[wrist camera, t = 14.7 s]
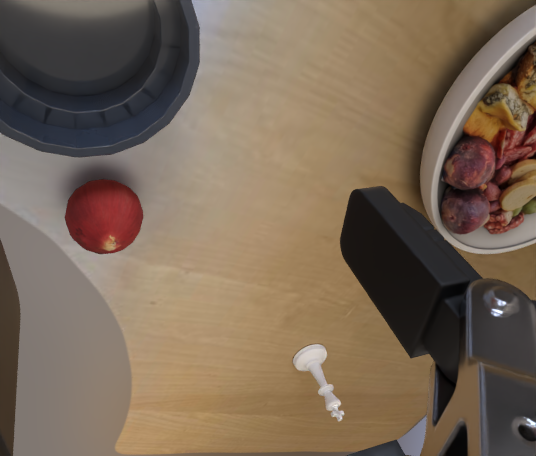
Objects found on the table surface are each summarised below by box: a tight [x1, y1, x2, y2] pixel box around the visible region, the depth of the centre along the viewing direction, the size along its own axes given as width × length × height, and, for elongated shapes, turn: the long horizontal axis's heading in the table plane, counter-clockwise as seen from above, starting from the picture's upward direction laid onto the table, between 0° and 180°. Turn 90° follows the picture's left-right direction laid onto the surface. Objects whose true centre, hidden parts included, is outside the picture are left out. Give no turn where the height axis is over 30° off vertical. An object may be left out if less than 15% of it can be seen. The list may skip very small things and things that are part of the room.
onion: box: [65, 179, 143, 254], centre depth 39 cm, size 6×6×8 cm
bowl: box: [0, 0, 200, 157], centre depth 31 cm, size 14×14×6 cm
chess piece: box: [293, 344, 344, 421], centre depth 65 cm, size 5×5×10 cm
